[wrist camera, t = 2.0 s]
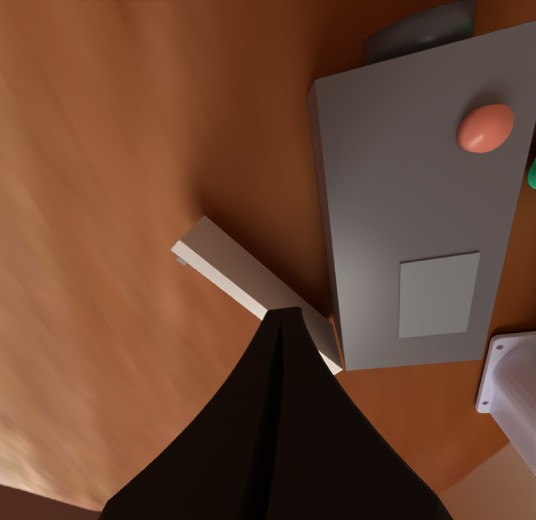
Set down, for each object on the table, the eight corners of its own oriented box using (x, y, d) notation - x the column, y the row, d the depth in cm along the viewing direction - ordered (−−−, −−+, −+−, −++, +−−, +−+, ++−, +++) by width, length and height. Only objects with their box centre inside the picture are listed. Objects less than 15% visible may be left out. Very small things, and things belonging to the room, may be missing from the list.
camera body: (438, 309, 19) (488, 367, 14) (333, 321, 21) (347, 378, 16) (469, 24, 12) (592, -50, 7) (303, 70, 13) (311, 33, 8)
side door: (332, 324, 20) (342, 369, 16) (315, 335, 21) (321, 381, 17) (204, 215, 17) (179, 239, 13) (189, 233, 17) (160, 261, 14)
